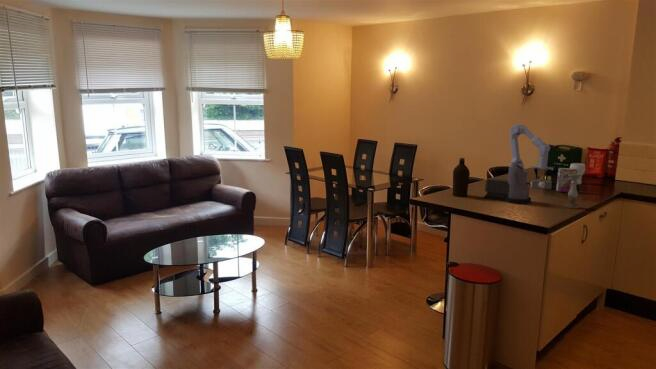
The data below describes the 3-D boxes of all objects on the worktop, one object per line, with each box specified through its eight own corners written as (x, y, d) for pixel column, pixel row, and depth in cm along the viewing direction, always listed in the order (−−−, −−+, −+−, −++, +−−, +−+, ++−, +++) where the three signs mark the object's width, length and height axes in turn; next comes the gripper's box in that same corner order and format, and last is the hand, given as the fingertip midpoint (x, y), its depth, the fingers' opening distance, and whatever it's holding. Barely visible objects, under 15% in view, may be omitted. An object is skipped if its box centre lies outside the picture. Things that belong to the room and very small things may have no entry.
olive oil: (458, 197, 329) (461, 159, 324) (448, 194, 338) (450, 157, 334) (471, 196, 334) (474, 158, 329) (460, 193, 343) (463, 156, 338)
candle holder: (574, 205, 311) (578, 173, 308) (582, 208, 303) (586, 175, 299) (560, 205, 311) (564, 172, 307) (568, 208, 303) (571, 175, 299)
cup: (586, 184, 382) (588, 165, 379) (571, 184, 382) (574, 164, 379) (579, 182, 392) (581, 163, 390) (565, 182, 393) (567, 162, 390)
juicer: (535, 201, 323) (538, 163, 318) (529, 205, 309) (533, 166, 305) (487, 195, 339) (490, 159, 334) (480, 199, 325) (483, 161, 321)
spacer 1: (537, 183, 369) (538, 176, 368) (537, 182, 374) (538, 175, 373) (544, 183, 367) (545, 176, 366) (544, 182, 372) (545, 175, 371)
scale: (531, 188, 366) (532, 181, 365) (530, 183, 382) (530, 177, 381) (551, 189, 362) (552, 182, 361) (548, 185, 378) (549, 178, 377)
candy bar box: (558, 192, 353) (560, 168, 349) (555, 190, 357) (558, 167, 354) (574, 192, 351) (577, 169, 348) (572, 191, 356) (574, 168, 353)
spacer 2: (543, 183, 386) (544, 176, 386) (543, 182, 391) (543, 175, 390) (550, 183, 385) (551, 177, 384) (550, 182, 390) (550, 176, 389)
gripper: (554, 160, 368) (552, 179, 370) (532, 159, 373) (530, 177, 376) (554, 162, 361) (552, 180, 364) (532, 160, 367) (530, 179, 369)
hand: (541, 179), depth 369 cm, fingers open, 6 cm apart
